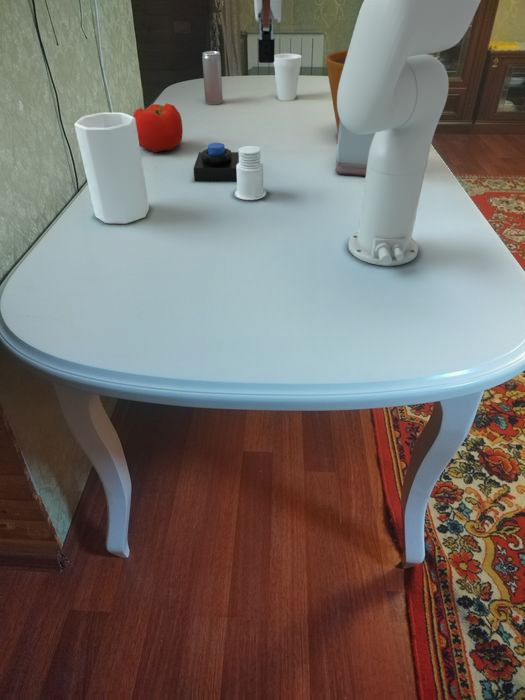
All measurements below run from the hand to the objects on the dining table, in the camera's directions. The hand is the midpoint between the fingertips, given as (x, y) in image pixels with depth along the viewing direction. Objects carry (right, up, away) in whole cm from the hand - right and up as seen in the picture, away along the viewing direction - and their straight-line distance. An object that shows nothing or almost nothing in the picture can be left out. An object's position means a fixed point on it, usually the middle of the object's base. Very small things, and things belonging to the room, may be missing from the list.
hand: (266, 61), depth 103 cm
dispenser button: (-12, -12, +18) cm, 25 cm away
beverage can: (-17, +26, +71) cm, 78 cm away
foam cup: (+8, +30, +75) cm, 81 cm away
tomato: (-28, -4, +35) cm, 45 cm away
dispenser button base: (-12, -15, +21) cm, 28 cm away
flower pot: (+28, +2, +42) cm, 50 cm away
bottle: (+22, -13, +24) cm, 35 cm away
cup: (-30, -30, +4) cm, 43 cm away
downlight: (-4, -24, +11) cm, 27 cm away
